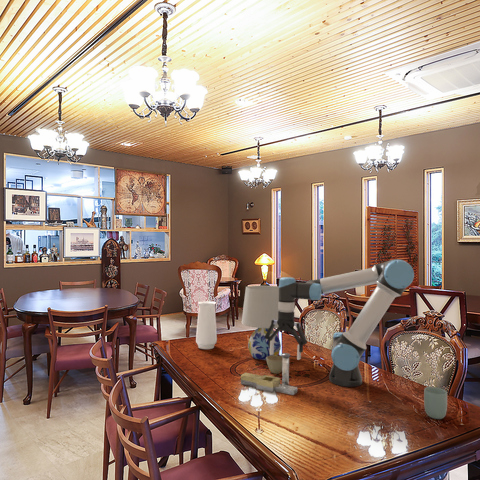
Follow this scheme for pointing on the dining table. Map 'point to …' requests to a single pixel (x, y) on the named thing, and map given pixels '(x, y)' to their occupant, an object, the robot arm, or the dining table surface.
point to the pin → (285, 368)
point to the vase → (206, 325)
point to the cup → (435, 402)
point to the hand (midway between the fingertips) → (285, 356)
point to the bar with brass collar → (267, 383)
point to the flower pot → (275, 363)
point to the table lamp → (261, 318)
